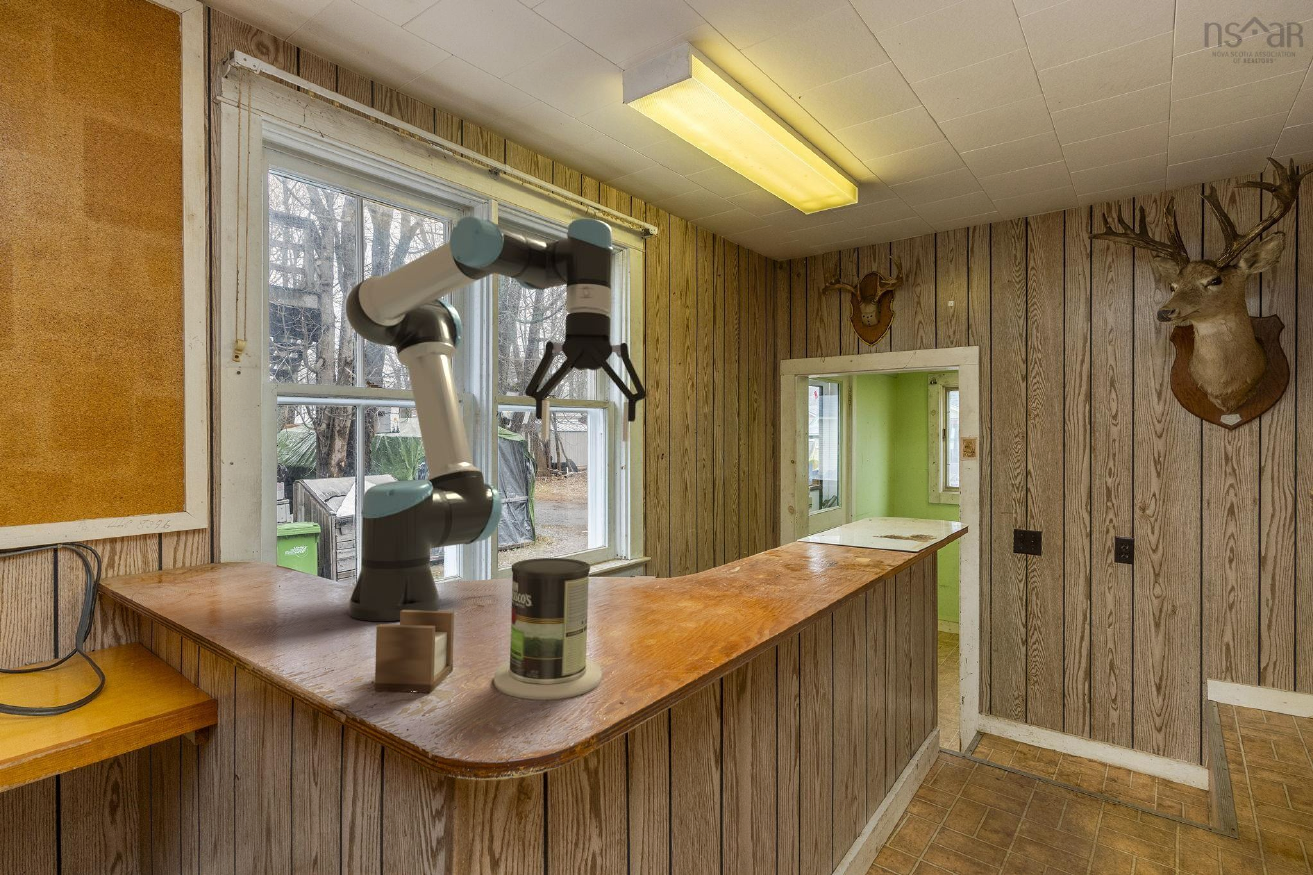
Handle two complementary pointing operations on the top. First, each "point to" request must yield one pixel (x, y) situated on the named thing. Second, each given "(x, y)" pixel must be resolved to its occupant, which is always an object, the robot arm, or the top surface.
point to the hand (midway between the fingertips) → (585, 440)
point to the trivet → (547, 691)
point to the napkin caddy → (414, 651)
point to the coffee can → (549, 620)
